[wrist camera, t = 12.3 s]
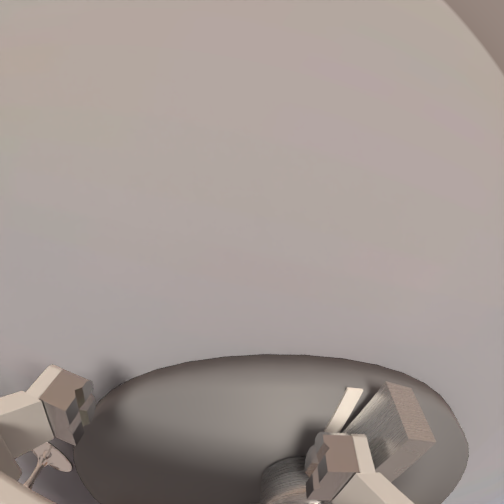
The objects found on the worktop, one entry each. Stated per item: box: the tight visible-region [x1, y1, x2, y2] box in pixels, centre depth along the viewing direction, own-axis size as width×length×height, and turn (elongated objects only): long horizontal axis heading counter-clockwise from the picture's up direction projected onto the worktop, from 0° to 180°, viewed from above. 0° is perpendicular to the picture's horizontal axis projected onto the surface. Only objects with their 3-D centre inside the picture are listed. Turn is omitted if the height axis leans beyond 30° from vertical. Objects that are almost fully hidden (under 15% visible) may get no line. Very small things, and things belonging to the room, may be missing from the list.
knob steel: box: [260, 381, 436, 504], centre depth 9 cm, size 8×4×3 cm, turn 157°
